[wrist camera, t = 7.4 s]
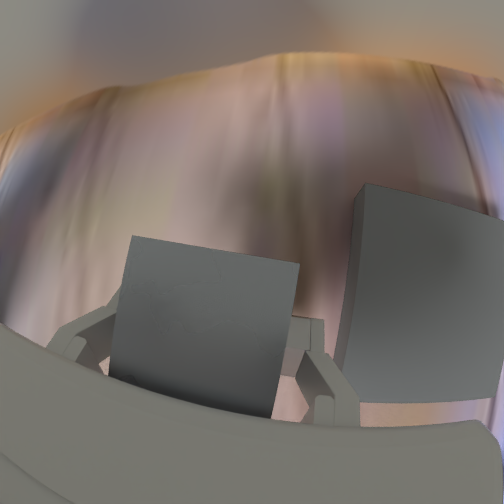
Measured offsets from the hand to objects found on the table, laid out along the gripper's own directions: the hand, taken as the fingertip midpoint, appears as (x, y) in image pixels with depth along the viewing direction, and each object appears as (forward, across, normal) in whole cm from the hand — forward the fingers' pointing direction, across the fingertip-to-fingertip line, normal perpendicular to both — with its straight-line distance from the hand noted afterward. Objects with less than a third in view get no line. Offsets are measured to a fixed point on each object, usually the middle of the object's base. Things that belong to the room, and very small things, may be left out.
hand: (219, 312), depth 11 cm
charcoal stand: (+8, -14, +4) cm, 17 cm away
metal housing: (+3, 0, +4) cm, 5 cm away
